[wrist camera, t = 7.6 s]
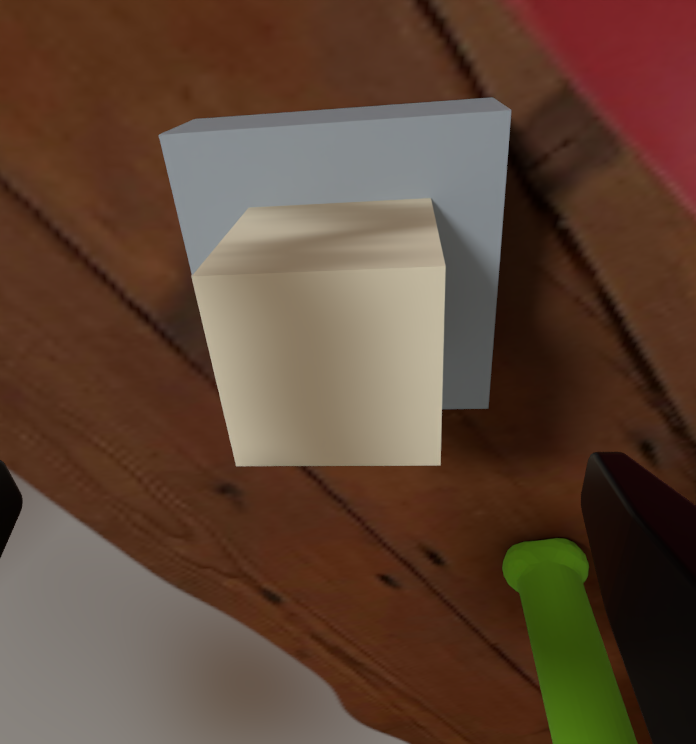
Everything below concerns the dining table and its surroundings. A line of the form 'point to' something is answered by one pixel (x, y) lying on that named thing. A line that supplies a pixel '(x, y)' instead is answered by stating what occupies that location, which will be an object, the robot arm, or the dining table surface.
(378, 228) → the cube
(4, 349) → the dining table surface
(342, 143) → the base
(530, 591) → the toy
